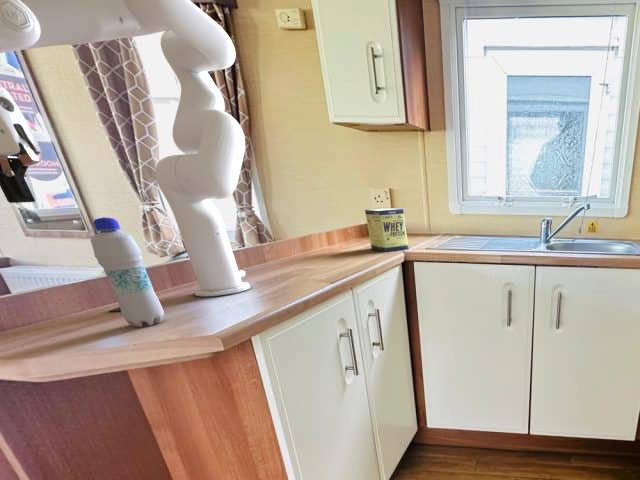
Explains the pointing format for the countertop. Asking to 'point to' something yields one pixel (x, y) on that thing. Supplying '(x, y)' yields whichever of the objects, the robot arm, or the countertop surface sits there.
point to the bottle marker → (115, 310)
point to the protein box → (387, 229)
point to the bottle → (126, 273)
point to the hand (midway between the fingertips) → (22, 202)
